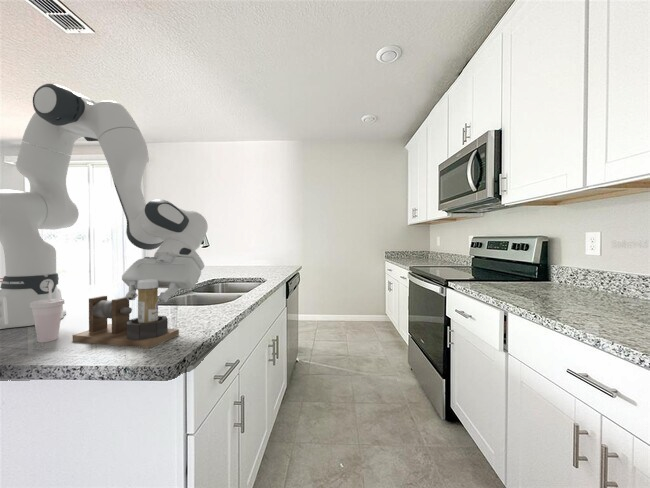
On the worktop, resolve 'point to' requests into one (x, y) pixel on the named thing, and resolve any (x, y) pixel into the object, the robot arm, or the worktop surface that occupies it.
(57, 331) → the smoothie
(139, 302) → the pill bottle
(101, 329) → the winch stand
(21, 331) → the worktop surface
